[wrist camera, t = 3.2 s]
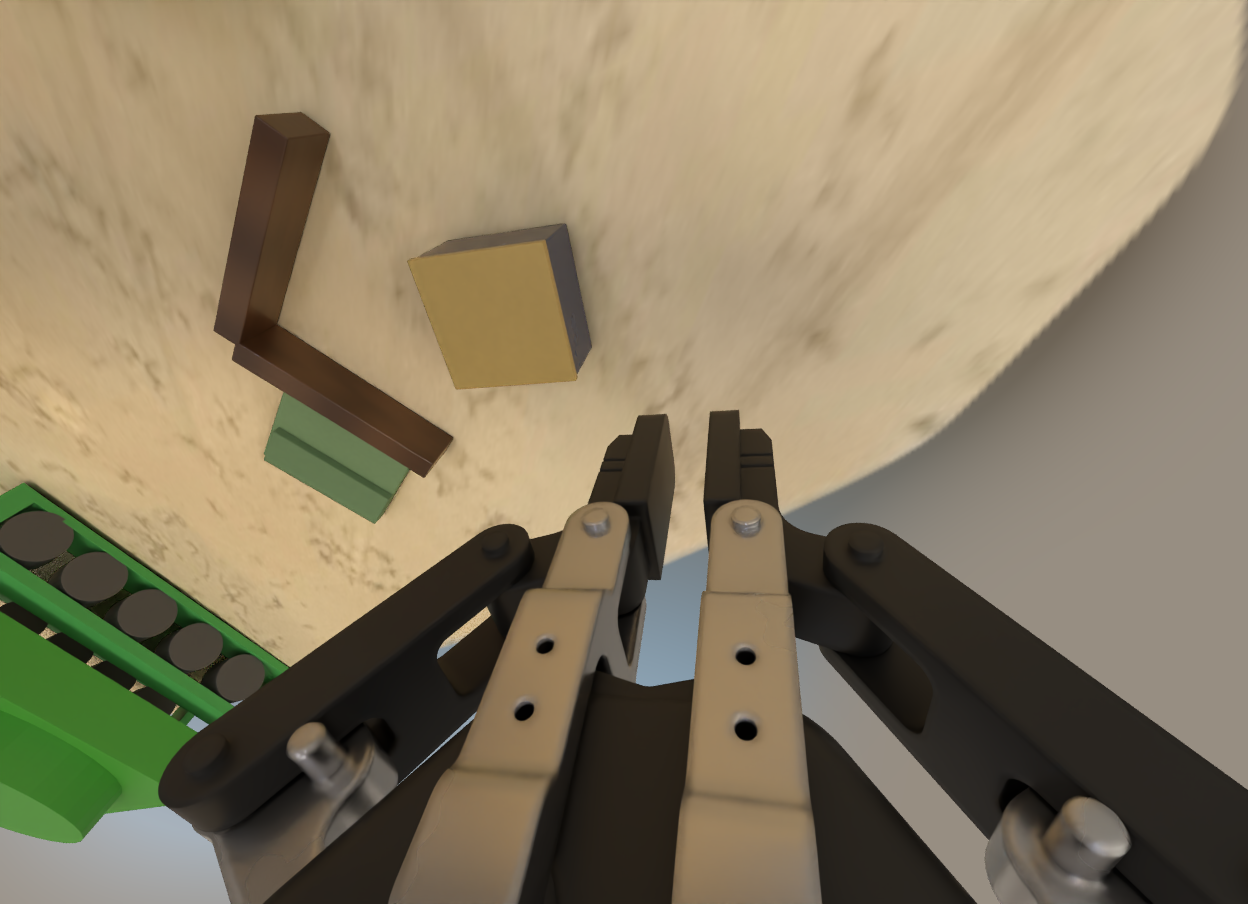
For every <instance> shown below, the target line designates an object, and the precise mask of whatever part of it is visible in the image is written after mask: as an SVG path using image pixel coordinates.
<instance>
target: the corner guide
mask: <svg viewBox="0 0 1248 904" xmlns="http://www.w3.org/2000/svg"><path fill="white" fill-rule="evenodd" d="M329 136H330V133H329V132H327V131H326V130H325V129H323V128H322V127H321V126H319V125H318V124H317V123H315V122H314V121H313V120H311V119H310V118H309V117H307V116H306V115H305V114H303V113H302V112H297V113H282V114H267V115H256V116H255V119H254V124H253V129H252V135H251V140H250V145H249V150H248V155H247V160H246V166H245V171H244V176H243V181H242V186H241V191H240V197H239V202H238V207H237V212H236V217H235V222H234V228H233V233H232V238H231V243H230V248H229V253H228V259H227V264H226V269H225V274H224V279H223V284H222V290H221V295H220V300H219V305H218V310H217V315H216V321H215V326H214V331H215V332H216V333H218V334H219V335H221V336H223V337H224V338H226V339H227V340H229V341H231V342H232V343H234V344H235V348H234V352H233V356H232V360H233V361H234V362H236V363H237V364H239V365H241V366H242V367H244V368H246V369H247V370H249V371H250V372H252V373H254V374H255V375H257V376H259V377H260V378H262V379H264V380H265V381H267V382H268V383H270V384H272V385H273V386H275V387H277V388H278V389H280V390H281V391H283V392H285V393H286V394H288V395H290V396H291V397H293V398H294V399H296V400H298V401H299V402H301V403H303V404H304V405H306V406H308V407H309V408H311V409H312V410H314V411H316V412H317V413H319V414H321V415H322V416H324V417H325V418H327V419H329V420H330V421H332V422H334V423H335V424H337V425H338V426H340V427H342V428H343V429H345V430H347V431H348V432H350V433H352V434H353V435H355V436H356V437H358V438H360V439H361V440H363V441H365V442H366V443H368V444H369V445H371V446H373V447H374V448H376V449H378V450H379V451H381V452H382V453H384V454H386V455H387V456H389V457H391V458H392V459H394V460H396V461H397V462H399V463H400V464H402V465H404V466H405V467H407V468H409V469H410V470H412V471H413V472H415V473H417V474H418V475H420V476H422V477H423V478H424V477H426V475H427V474H428V473H429V471H430V470H431V469H432V468H433V466H434V465H435V464H436V463H437V461H438V460H439V459H440V458H441V456H442V455H443V454H444V452H445V451H446V449H447V448H448V446H449V445H450V443H451V442H452V440H453V437H451V436H450V435H448V434H447V433H445V432H443V431H442V430H440V429H439V428H437V427H436V426H434V425H433V424H431V423H429V422H428V421H426V420H425V419H423V418H422V417H420V416H419V415H417V414H415V413H414V412H412V411H411V410H409V409H408V408H406V407H405V406H403V405H401V404H400V403H398V402H397V401H395V400H394V399H392V398H391V397H389V396H387V395H386V394H384V393H383V392H381V391H380V390H378V389H376V388H375V387H373V386H372V385H370V384H369V383H367V382H366V381H364V380H362V379H361V378H359V377H358V376H356V375H355V374H353V373H352V372H350V371H348V370H347V369H345V368H344V367H342V366H341V365H339V364H338V363H336V362H334V361H333V360H331V359H330V358H328V357H327V356H325V355H324V354H322V353H320V352H319V351H317V350H316V349H314V348H313V347H311V346H310V345H308V344H306V343H305V342H303V341H302V340H300V339H299V338H297V337H295V336H294V335H292V334H291V333H289V332H288V331H286V330H285V329H283V328H281V327H280V326H278V325H277V321H278V318H279V314H280V311H281V307H282V303H283V300H284V296H285V293H286V289H287V286H288V282H289V279H290V275H291V271H292V268H293V264H294V261H295V257H296V254H297V250H298V247H299V243H300V239H301V236H302V232H303V229H304V225H305V222H306V218H307V214H308V211H309V207H310V204H311V200H312V197H313V193H314V190H315V186H316V182H317V179H318V175H319V172H320V168H321V165H322V161H323V157H324V154H325V150H326V147H327V143H328V140H329Z"/></svg>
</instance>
